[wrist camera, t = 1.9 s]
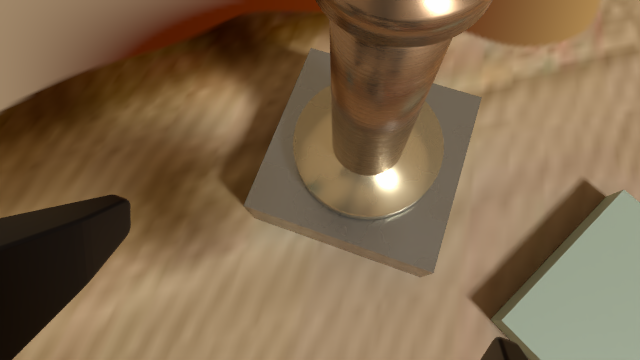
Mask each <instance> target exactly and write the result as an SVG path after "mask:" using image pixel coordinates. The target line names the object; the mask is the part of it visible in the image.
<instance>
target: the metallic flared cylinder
mask: <svg viewBox="0 0 640 360" xmlns="http://www.w3.org/2000/svg"><path fill="white" fill-rule="evenodd" d="M316 2H317V3H318V5H319V7H320V8H321V10H322V11H323V12H324V13H325V14H326V15H327V17H328V18H329V26H330V69H331V85H329V86H327V87H326V88H324V89H323V90H321V91H320V92H319V93H317V94H316V95H315V96H314V97H313V98H312V99H311V100H310V101H309V102H308V103H307V105H306V106H305V108H304V109H303V111H302V112H301V114H300V116H299V118H298V121H297V124H296V126H295V131H294V136H293V152H294V158H295V162H296V166H297V170H298V172H299V175H300V178H301V180H302V181H303V183H304V185H305V187H306V188H307V189H308V191H309V192H310V193H311V195H312V196H313V197H314V198H315V199H316V200H317V201H319V202H320V203H321V204H322V205H324V206H325V207H327V208H328V209H330V210H332V211H333V212H336V213H338V214H340V215H343V216H346V217H350V218H355V219H361V220H374V219H382V218H387V217H391V216H394V215H396V214H399V213H401V212H403V211H405V210H407V209H408V208H410V207H411V206H412V205H414V204H415V203H416V202H417V201H419V200H420V199H421V198H422V197H423V195H424V194H425V193H426V192H427V190H428V189H429V188H430V187H431V185H432V184H433V182H434V181H435V179H436V177H437V176H438V173H439V171H440V168H441V165H442V161H443V155H444V139H443V134H442V129H441V126H440V123H439V121H438V119H437V117H436V115H435V113H434V112H433V110H432V109H431V107H430V106H429V105H428V103H427V102H426V101H425V100H426V97H427V95H428V93H429V90H430V88H431V86H432V84H433V81H434V79H435V77H436V74H437V72H438V70H439V68H440V65H441V63H442V61H443V58H444V56H445V54H446V51H447V49H448V47H449V45H450V42H451V40H452V38H453V37H455V36H457V35H459V34H461V33H462V32H464V31H465V30H467V29H468V28H469V27H471V26H472V25H473V24H474V23H475V22H477V21H478V20H479V19H480V18H481V16H482V15H483V14H484V13H485V12H486V10H487V9H488V7H489V5H490V4H491V2H492V0H316Z"/></svg>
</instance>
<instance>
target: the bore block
mask: <svg viewBox="0 0 640 360" xmlns="http://www.w3.org/2000/svg"><path fill="white" fill-rule="evenodd" d="M329 85H331V69H330V53H326V52H323V51H319V50H316V49H312V48H311V49H310V51H309V54H308V56H307V58H306V61H305V63H304V66H303V68H302V70H301V73H300V75H299V77H298V80H297V82H296V84H295V87H294V89H293V91H292V94H291V96H290V98H289V101H288V103H287V105H286V108H285V110H284V112H283V115H282V117H281V119H280V122H279V124H278V126H277V129H276V131H275V133H274V136H273V138H272V140H271V143H270V145H269V147H268V150H267V152H266V154H265V157H264V159H263V161H262V164H261V166H260V169H259V171H258V173H257V176H256V178H255V180H254V183H253V185H252V187H251V190H250V192H249V194H248V197H247V199H246V201H245V204H244V207H245V208H246V209H247V210H248V211H249V212H250V213H251V214H252V215H253V217H254V218H256V219H259V220H262V221H265V222H268V223H270V224H273V225H276V226H279V227H282V228H284V229H287V230H290V231H293V232H296V233H298V234H301V235H304V236H307V237H310V238H312V239H315V240H318V241H321V242H324V243H326V244H329V245H332V246H335V247H338V248H340V249H343V250H346V251H349V252H352V253H354V254H357V255H360V256H363V257H366V258H368V259H371V260H374V261H377V262H380V263H382V264H385V265H388V266H391V267H394V268H396V269H399V270H402V271H405V272H408V273H410V274H413V275H416V276H419V277H423V276H426V275H429V274H432V273H434V269H435V265H436V262H437V258H438V254H439V251H440V247H441V243H442V240H443V236H444V232H445V229H446V225H447V222H448V218H449V214H450V211H451V207H452V203H453V200H454V196H455V192H456V189H457V185H458V181H459V178H460V174H461V171H462V167H463V163H464V160H465V156H466V152H467V149H468V145H469V141H470V138H471V134H472V130H473V127H474V123H475V120H476V116H477V112H478V109H479V105H480V101H481V98H482V97H478V96H475V95H471V94H468V93H464V92H461V91H457V90H454V89H451V88H447V87H444V86H440V85H437V84H432V86H431V88H430V90H429V93H428V95H427V97H426V100H425V101H426V102H427V103H428V105H429V106H430V107H431V109H432V110H433V112H434V113H435V115H436V117H437V119H438V121H439V123H440V126H441V129H442V134H443V139H444V155H443V161H442V165H441V168H440V171H439V173H438V176H437V177H436V179H435V181H434V182H433V184H432V185H431V187H430V188H429V189H428V190H427V192H426V193H425V194H424V195H423V197H422V198H421V199H420V200H419V201H417V202H416V203H415V204H414V205H412V206H411V207H410V208H408V209H407V210H405V211H403V212H401V213H399V214H396V215H394V216H391V217H387V218H382V219H374V220H361V219H355V218H350V217H346V216H343V215H340V214H338V213H336V212H333V211H332V210H330V209H328V208H327V207H325V206H324V205H322V204H321V203H320V202H319V201H317V200H316V199H315V198H314V197H313V196H312V195H311V193H310V192H309V191H308V189H307V188H306V187H305V185H304V183H303V181H302V180H301V178H300V175H299V172H298V170H297V166H296V162H295V158H294V152H293V136H294V131H295V126H296V124H297V121H298V118H299V116H300V114H301V112H302V111H303V109H304V108H305V106H306V105H307V103H308V102H309V101H310V100H311V99H312V98H313V97H314V96H315V95H316V94H317V93H319V92H320V91H321V90H323V89H324V88H326V87H327V86H329Z"/></svg>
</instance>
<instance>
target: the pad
mask: <svg viewBox="0 0 640 360" xmlns="http://www.w3.org/2000/svg"><path fill="white" fill-rule="evenodd" d="M490 320H491V321H492V322H493V323H494V324H495V325H496V326H497V327H498V328H499V329H500V330H501V331H502V332H503V333H504V334H505V335H506V336H507V337H508V338H509V339H510V340H511V341H513V342H515V343H517V344H518V345H519V346H520V348H521V349H522V351H523V352H524V353H525V355H526V356H527V357H528V358H529V359H530V360H640V202H638V201H637V200H636V199H635V198H634V197H632V196H631V195H630V194H629V193H627V192H626V191H625V190H622V191H619V192H617V193H614V194H612V195H609V196H607V197H605V198H604V200H603V201H602V202H601V203H600V204H599V205H598V206H597V207H596V208H595V209H594V210H593V211H592V212H591V213H590V214H589V215H588V216H587V218H586V219H585V220H584V221H583V222H582V223H581V224H580V225H579V226H578V227H577V228H576V229H575V230H574V231H573V232H572V233H571V235H570V236H569V237H568V238H567V239H566V240H565V241H564V242H563V243H562V244H561V245H560V246H559V247H558V248H557V249H556V250H555V252H554V253H553V254H552V255H551V256H550V257H549V258H548V259H547V260H546V261H545V262H544V263H543V264H542V265H541V266H540V267H539V268H538V270H537V271H536V272H535V273H534V274H533V275H532V276H531V277H530V278H529V279H528V280H527V281H526V282H525V283H524V284H523V285H522V287H521V288H520V289H519V290H518V291H517V292H516V293H515V294H514V295H513V296H512V297H511V298H510V299H509V300H508V301H507V302H506V304H505V305H504V306H503V307H502V308H501V309H500V310H499V311H498V312H497V313H496V314H495V315H494V316H493V317H492V318H491V319H490Z"/></svg>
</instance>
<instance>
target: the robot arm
mask: <svg viewBox="0 0 640 360" xmlns="http://www.w3.org/2000/svg"><path fill="white" fill-rule="evenodd" d="M130 226H131V220H130V203H129V201H128V200H127V199H125V198H122V197H119V196H117V195H107V196H103V197H98V198H93V199H89V200H84V201H79V202H75V203H70V204H65V205H60V206H56V207H51V208H46V209H42V210H37V211H32V212H28V213H23V214H18V215H14V216H9V217H4V218H0V360H12V359H13V358H14V357H15V356H16V355H17V354H18V353H19V352H20V351H21V350H22V349H23V348H24V347H25V346H26V345H27V344H28V343H29V342H30V341H31V340H32V339H33V338H34V337H35V336H36V335H37V334H38V333H39V332H40V331H41V330H42V329H43V328H44V327H45V326H46V325H47V324H48V323H49V322H50V321H51V320H52V319H53V318H54V317H55V316H56V315H57V314H58V313H59V312H60V311H61V310H62V309H63V308H64V307H65V306H66V305H67V304H68V303H69V302H70V301H71V300H72V299H73V298H74V297H75V296H76V295H77V294H78V293H79V292H80V291H81V290H82V289H83V288H84V287H85V286H86V285H87V284H88V283H89V281H90V280H91V279H92V278H93V277H94V276H95V274H96V273H97V272H98V271H99V269H100V268H101V267H102V266H103V265H104V263H105V262H106V261H107V260H108V258H109V257H110V256H111V255H112V254H113V252H114V251H115V250H116V249H117V247H118V246H119V245H120V244H121V242H122V241H123V240H124V239H125V238H126V236H127V235H128V233H129V231H130ZM481 360H529V359H528V358H527V356H526V355H525V353H524V352H523V351H522V349H521V348H520V346H519V345H518V344H517V343H515V342H513V341H510V340H508V339H505V338H502V337H496V338H495V339H494V340H493V341H492V343H491V344H490V346H489V348H488V349H487V351H486V352H485V354H484V355H483V357H482V358H481Z"/></svg>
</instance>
